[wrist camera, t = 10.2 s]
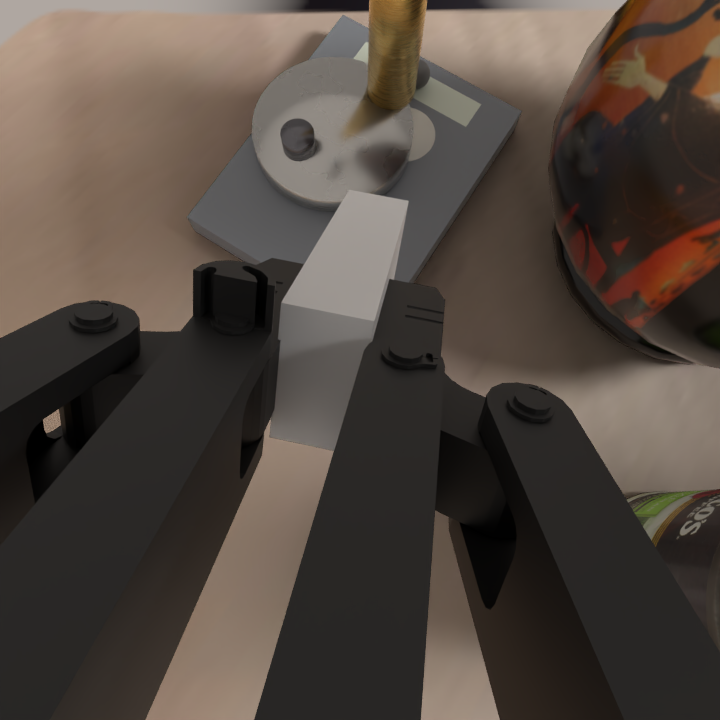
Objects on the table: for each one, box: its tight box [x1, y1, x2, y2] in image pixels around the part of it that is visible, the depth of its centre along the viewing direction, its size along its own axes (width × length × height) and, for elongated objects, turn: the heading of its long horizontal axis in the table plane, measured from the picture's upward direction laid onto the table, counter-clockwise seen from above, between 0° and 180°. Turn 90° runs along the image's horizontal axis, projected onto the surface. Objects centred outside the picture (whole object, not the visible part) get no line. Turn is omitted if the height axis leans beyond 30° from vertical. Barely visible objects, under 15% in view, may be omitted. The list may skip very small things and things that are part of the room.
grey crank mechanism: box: [187, 15, 522, 283], centre depth 40 cm, size 18×14×4 cm
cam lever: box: [252, 0, 427, 212], centre depth 33 cm, size 10×11×15 cm
